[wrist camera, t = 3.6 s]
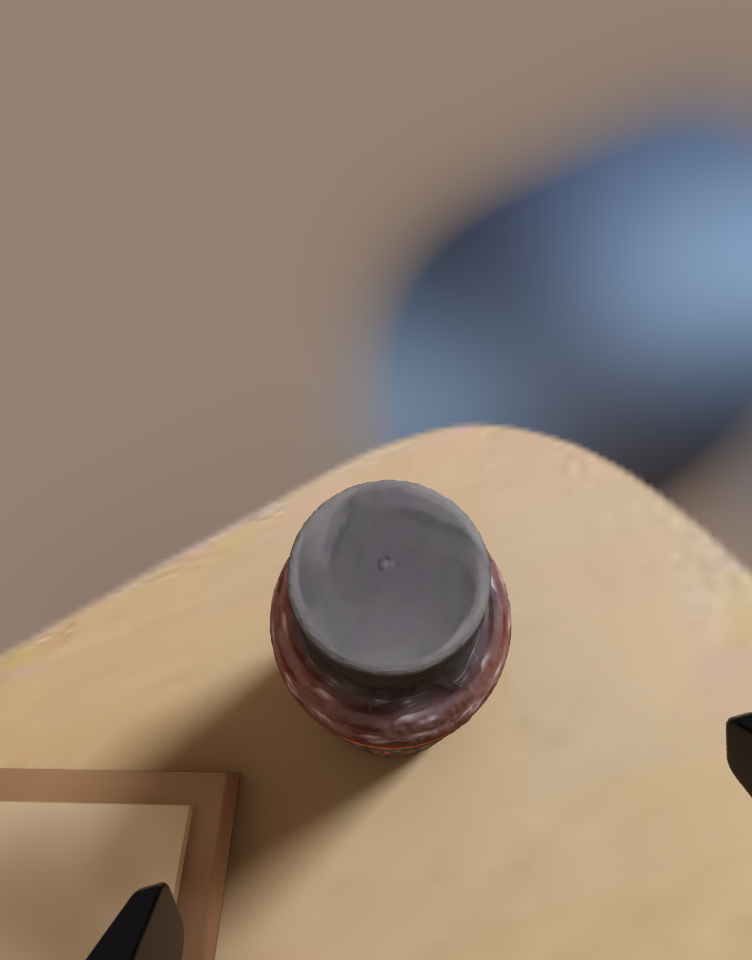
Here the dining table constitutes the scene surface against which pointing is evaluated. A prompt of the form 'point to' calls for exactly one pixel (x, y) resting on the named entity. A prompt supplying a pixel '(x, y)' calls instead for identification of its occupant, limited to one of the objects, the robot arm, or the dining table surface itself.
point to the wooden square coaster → (109, 854)
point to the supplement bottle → (390, 618)
